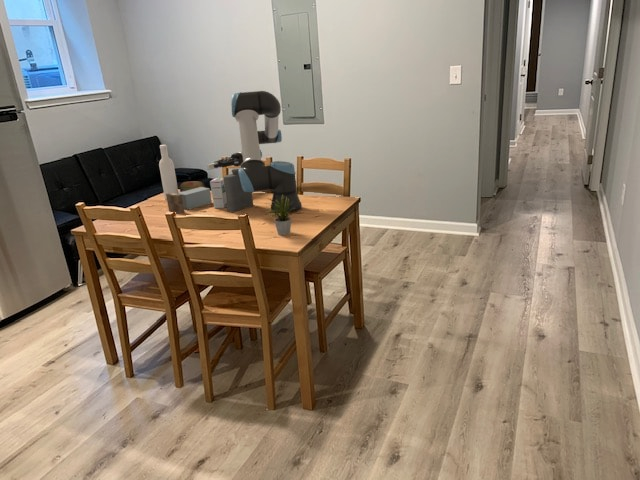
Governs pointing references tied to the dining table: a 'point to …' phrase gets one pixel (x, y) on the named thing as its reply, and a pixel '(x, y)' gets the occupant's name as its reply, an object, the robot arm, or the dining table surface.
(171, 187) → the bottle
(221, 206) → the syrup box
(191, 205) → the slate block
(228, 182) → the flask
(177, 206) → the walnut board
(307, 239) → the dining table surface
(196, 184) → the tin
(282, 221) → the house plant
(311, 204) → the dining table surface
